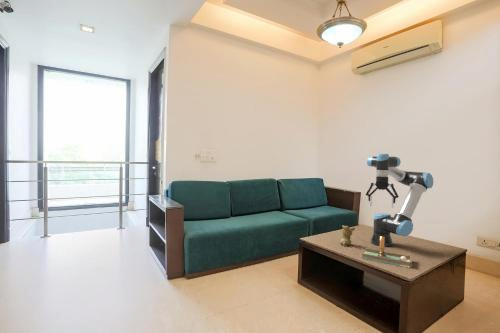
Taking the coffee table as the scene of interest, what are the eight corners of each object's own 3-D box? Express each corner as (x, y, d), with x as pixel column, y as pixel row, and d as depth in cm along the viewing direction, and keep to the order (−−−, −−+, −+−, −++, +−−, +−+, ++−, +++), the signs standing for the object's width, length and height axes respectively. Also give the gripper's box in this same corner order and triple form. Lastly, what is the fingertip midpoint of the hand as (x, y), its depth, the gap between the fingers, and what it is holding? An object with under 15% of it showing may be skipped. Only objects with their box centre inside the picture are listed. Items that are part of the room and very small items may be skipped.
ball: (405, 261, 170) (399, 259, 172) (407, 256, 170) (401, 254, 171) (405, 263, 167) (399, 261, 169) (407, 258, 167) (400, 256, 168)
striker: (378, 254, 180) (379, 235, 179) (386, 255, 177) (387, 236, 177) (377, 257, 175) (378, 237, 174) (385, 258, 172) (386, 238, 172)
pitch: (365, 252, 188) (365, 247, 187) (412, 261, 172) (412, 255, 172) (362, 258, 177) (362, 252, 176) (411, 268, 161) (411, 262, 161)
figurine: (350, 242, 208) (351, 223, 207) (355, 246, 200) (355, 226, 199) (338, 242, 208) (338, 223, 207) (342, 246, 199) (342, 226, 199)
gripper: (361, 175, 187) (361, 205, 188) (402, 177, 173) (401, 209, 174) (363, 175, 193) (363, 204, 194) (403, 176, 180) (402, 207, 181)
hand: (381, 206), depth 184 cm, fingers open, 13 cm apart
